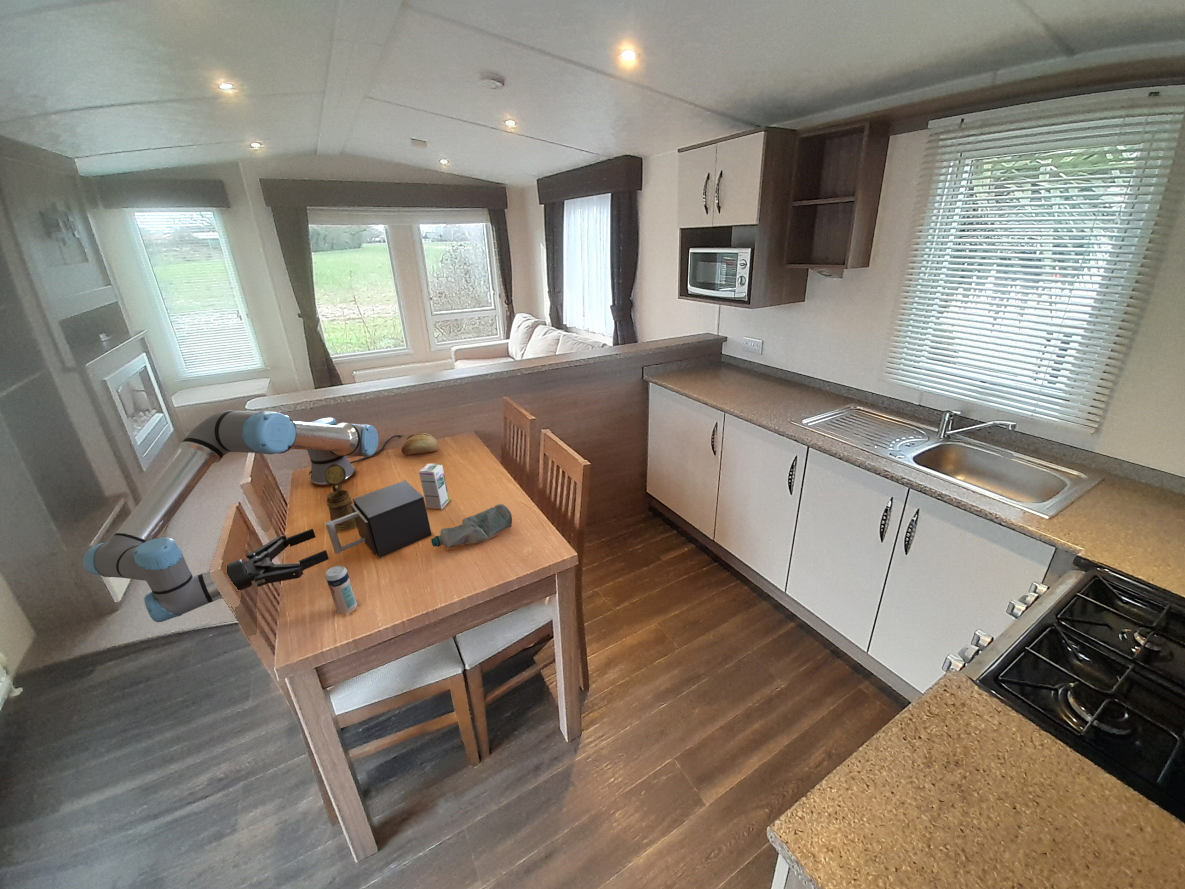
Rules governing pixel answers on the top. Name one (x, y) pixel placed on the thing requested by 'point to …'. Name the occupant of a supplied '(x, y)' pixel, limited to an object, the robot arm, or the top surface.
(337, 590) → the beer can
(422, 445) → the bread roll
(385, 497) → the drawer cabinet
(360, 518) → the dark grey drawer
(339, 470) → the wooden mug
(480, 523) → the crushed plastic bottle
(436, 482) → the syrup box
